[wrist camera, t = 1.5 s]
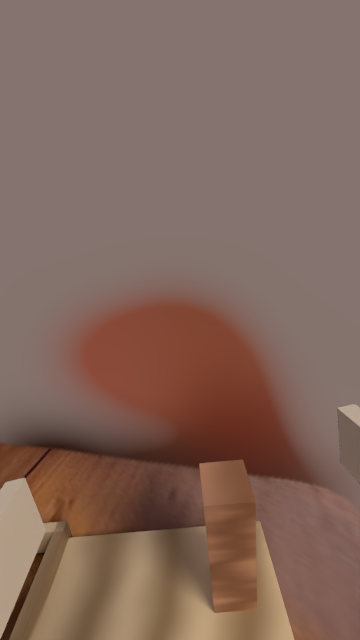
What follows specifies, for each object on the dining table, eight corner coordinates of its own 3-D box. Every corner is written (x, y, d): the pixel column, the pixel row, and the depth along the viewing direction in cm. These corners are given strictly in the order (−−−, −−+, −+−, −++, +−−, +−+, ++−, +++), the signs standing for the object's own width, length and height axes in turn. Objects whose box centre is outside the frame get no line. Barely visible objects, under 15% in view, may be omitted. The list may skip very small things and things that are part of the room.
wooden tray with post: (-137, 723, 19) (-248, 612, 15) (-24, 548, 29) (-71, 455, 25) (305, 691, 18) (317, 565, 14) (258, 524, 29) (257, 424, 25)
